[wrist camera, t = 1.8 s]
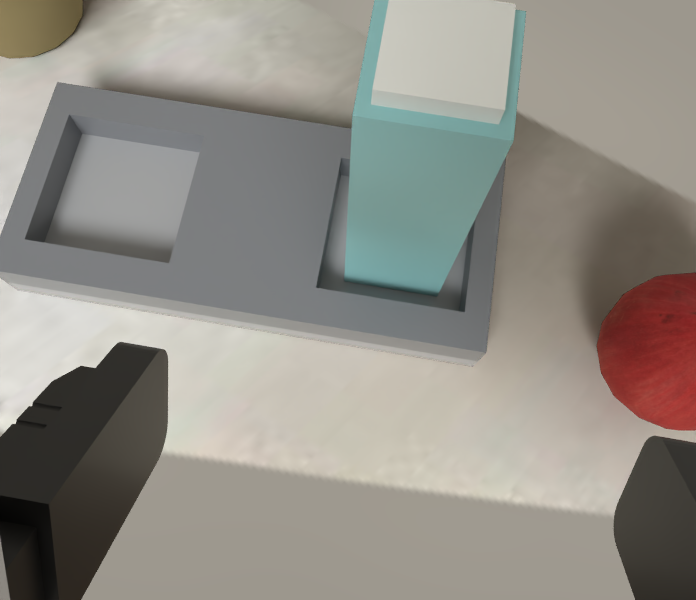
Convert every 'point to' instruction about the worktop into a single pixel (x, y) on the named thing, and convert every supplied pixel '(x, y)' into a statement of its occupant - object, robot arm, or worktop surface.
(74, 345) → the worktop surface
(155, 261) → the panel
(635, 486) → the robot arm
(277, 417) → the worktop surface
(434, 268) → the plug
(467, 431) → the worktop surface
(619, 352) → the onion
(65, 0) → the squeeze bottle
